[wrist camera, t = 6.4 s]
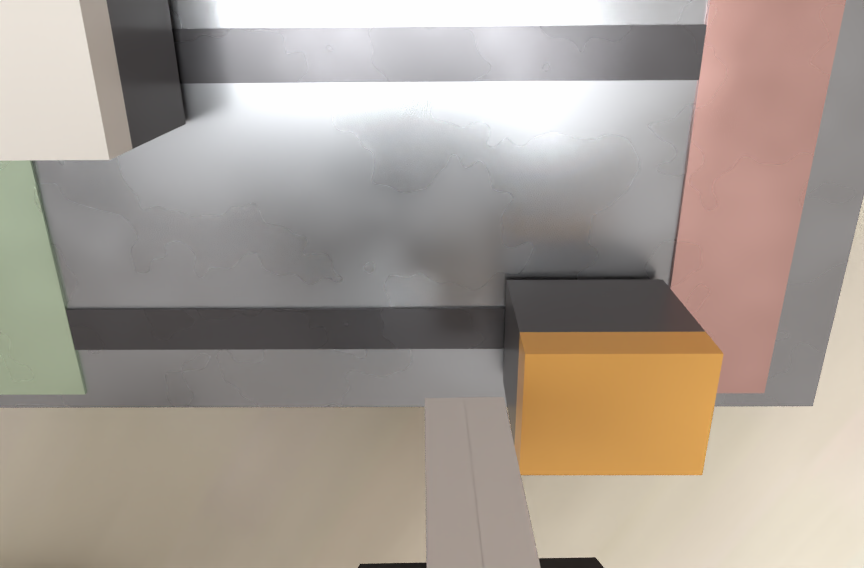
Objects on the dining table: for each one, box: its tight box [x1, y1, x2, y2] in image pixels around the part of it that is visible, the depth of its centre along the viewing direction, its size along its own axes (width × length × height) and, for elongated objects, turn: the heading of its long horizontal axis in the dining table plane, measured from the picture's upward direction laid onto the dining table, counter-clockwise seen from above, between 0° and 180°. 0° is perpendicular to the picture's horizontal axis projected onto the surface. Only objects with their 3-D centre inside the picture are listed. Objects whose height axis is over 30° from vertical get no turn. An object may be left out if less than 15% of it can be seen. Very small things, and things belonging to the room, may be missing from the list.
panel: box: [0, 0, 864, 408], centre depth 16 cm, size 25×19×2 cm
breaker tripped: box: [503, 279, 723, 475], centre depth 16 cm, size 4×3×4 cm
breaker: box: [0, 0, 186, 161], centre depth 14 cm, size 4×3×4 cm
